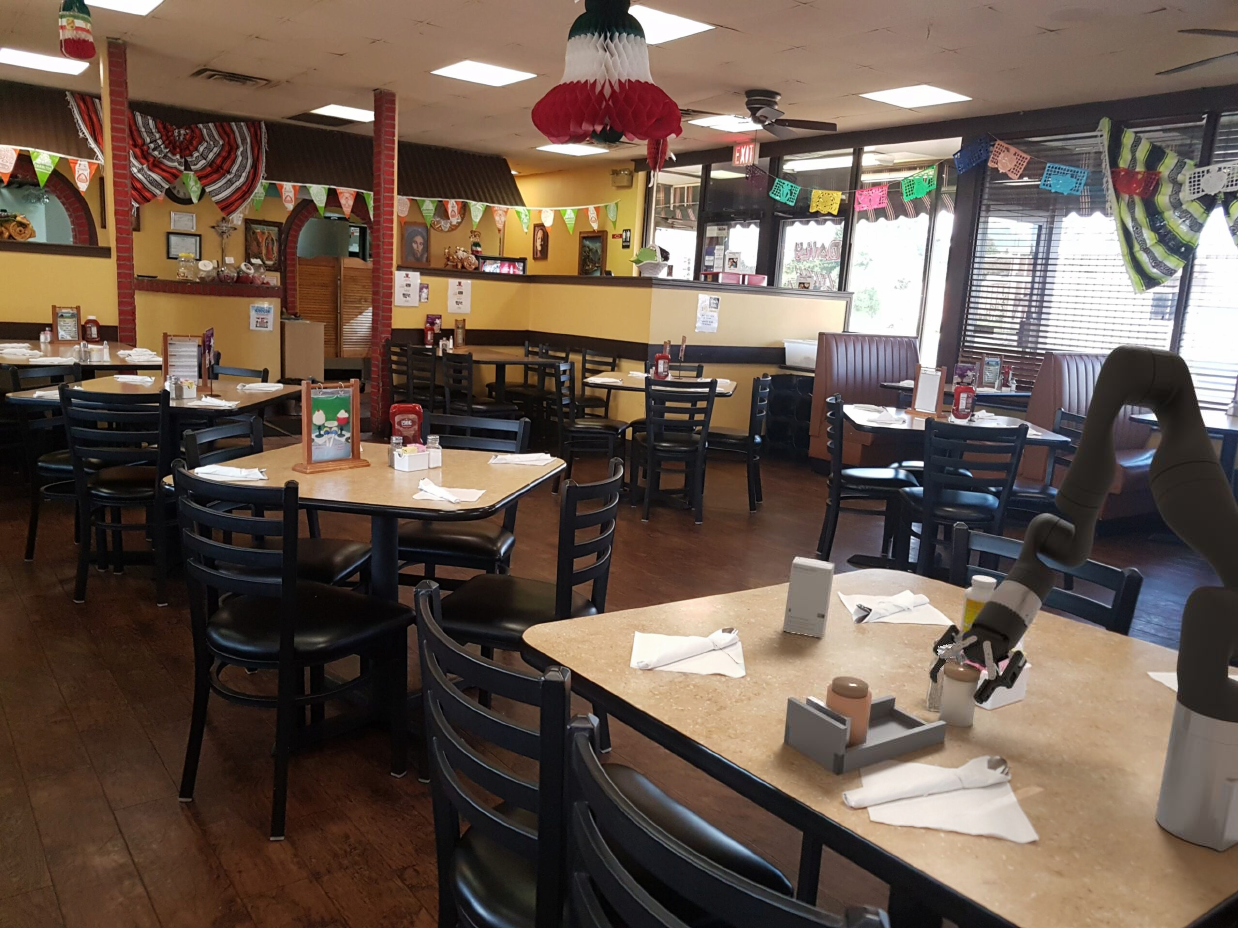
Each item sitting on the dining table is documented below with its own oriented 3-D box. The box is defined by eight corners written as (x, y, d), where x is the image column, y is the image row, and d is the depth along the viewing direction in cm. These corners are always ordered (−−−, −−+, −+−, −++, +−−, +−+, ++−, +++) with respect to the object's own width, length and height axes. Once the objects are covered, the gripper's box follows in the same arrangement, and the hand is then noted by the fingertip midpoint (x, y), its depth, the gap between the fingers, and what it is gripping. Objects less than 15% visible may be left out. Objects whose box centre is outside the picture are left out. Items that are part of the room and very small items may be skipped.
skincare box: (782, 632, 188) (789, 562, 185) (787, 623, 194) (794, 554, 191) (824, 639, 185) (831, 568, 183) (828, 630, 191) (835, 560, 188)
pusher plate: (846, 763, 132) (851, 717, 131) (836, 766, 131) (841, 720, 130) (807, 739, 139) (811, 695, 138) (797, 742, 138) (801, 698, 137)
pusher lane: (943, 746, 142) (949, 698, 141) (836, 781, 130) (842, 728, 128) (888, 717, 151) (893, 671, 150) (783, 747, 139) (787, 697, 137)
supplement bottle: (996, 645, 187) (1004, 585, 185) (962, 641, 189) (970, 581, 186) (990, 634, 194) (998, 575, 191) (957, 630, 195) (964, 572, 193)
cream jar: (981, 723, 151) (988, 671, 149) (959, 730, 148) (966, 677, 146) (952, 709, 156) (959, 659, 154) (930, 716, 153) (937, 664, 151)
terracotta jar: (874, 752, 137) (882, 687, 135) (844, 762, 133) (851, 695, 132) (843, 734, 142) (849, 671, 140) (812, 743, 139) (819, 679, 137)
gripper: (963, 588, 158) (910, 662, 154) (1038, 614, 147) (984, 695, 143) (979, 613, 162) (928, 686, 158) (1053, 641, 150) (1001, 720, 146)
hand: (954, 690), depth 150 cm, fingers open, 8 cm apart
